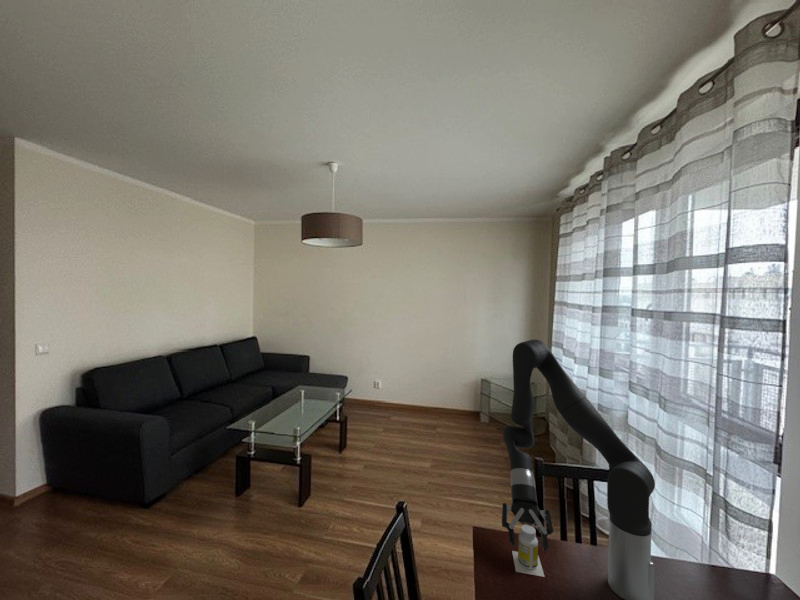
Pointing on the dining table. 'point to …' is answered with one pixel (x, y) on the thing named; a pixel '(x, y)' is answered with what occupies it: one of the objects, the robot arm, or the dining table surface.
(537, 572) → the tile
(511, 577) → the dining table surface
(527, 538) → the supplement bottle
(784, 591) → the dining table surface
